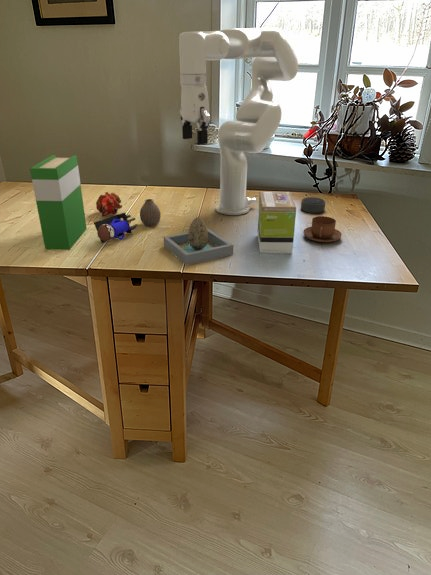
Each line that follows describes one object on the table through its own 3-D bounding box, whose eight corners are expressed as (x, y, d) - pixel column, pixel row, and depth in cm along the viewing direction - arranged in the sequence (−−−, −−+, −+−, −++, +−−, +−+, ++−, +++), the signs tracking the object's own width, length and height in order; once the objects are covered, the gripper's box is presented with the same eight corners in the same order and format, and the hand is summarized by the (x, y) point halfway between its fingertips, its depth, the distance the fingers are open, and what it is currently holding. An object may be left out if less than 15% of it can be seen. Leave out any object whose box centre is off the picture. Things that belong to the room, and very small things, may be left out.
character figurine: (141, 235, 143) (105, 250, 132) (126, 228, 146) (90, 242, 136) (141, 212, 139) (104, 226, 128) (125, 206, 142) (88, 218, 132)
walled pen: (207, 237, 141) (207, 228, 139) (233, 254, 129) (233, 244, 128) (163, 246, 134) (163, 237, 133) (186, 265, 122) (186, 255, 121)
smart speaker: (322, 215, 161) (324, 204, 159) (298, 212, 164) (299, 202, 162) (325, 208, 169) (327, 198, 167) (302, 205, 171) (303, 195, 169)
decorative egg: (203, 254, 128) (203, 221, 123) (185, 251, 130) (184, 219, 125) (211, 246, 133) (211, 215, 128) (192, 244, 135) (192, 213, 130)
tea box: (256, 234, 143) (259, 190, 136) (287, 235, 143) (291, 190, 136) (258, 253, 130) (262, 205, 123) (292, 254, 130) (297, 206, 123)
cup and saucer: (344, 245, 136) (347, 227, 133) (306, 245, 136) (308, 226, 133) (336, 231, 147) (338, 214, 144) (300, 231, 147) (302, 213, 144)
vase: (157, 229, 147) (155, 203, 143) (137, 227, 148) (135, 202, 144) (163, 222, 153) (162, 197, 149) (144, 220, 154) (142, 196, 150)
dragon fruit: (119, 212, 166) (106, 228, 156) (100, 199, 164) (85, 213, 155) (129, 197, 161) (116, 211, 151) (109, 182, 159) (95, 196, 150)
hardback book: (64, 228, 146) (52, 154, 135) (86, 228, 146) (76, 155, 135) (45, 249, 131) (29, 168, 120) (69, 249, 131) (56, 168, 119)
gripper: (219, 82, 123) (219, 144, 132) (190, 78, 136) (192, 135, 145) (196, 83, 120) (197, 147, 128) (168, 79, 133) (171, 138, 141)
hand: (194, 141), depth 136 cm, fingers open, 9 cm apart
